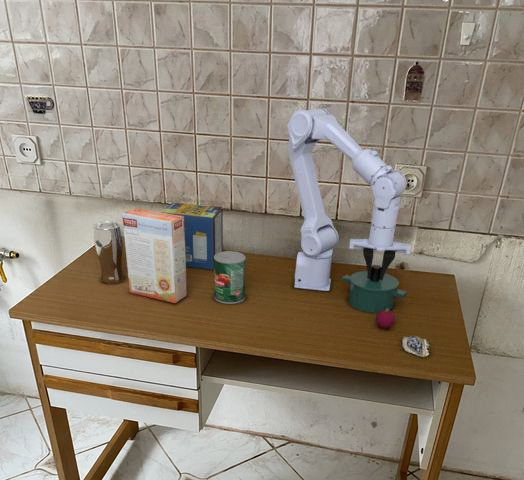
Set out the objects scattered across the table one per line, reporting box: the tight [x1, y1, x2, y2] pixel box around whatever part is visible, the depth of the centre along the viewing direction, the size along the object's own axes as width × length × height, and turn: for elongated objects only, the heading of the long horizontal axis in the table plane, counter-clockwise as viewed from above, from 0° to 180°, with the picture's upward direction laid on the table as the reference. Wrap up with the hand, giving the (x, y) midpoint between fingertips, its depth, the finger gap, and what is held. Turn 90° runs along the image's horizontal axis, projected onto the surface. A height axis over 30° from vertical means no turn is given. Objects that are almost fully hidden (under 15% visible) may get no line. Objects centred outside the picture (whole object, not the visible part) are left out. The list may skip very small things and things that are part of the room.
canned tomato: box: [213, 250, 247, 305], centre depth 131 cm, size 8×8×11 cm
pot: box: [341, 274, 408, 314], centre depth 132 cm, size 11×17×6 cm
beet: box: [375, 308, 396, 330], centre depth 121 cm, size 4×4×5 cm
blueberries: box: [401, 335, 430, 358], centre depth 114 cm, size 7×8×2 cm
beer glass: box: [93, 220, 125, 285], centre depth 136 cm, size 7×7×15 cm
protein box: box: [160, 202, 224, 271], centre depth 150 cm, size 10×15×16 cm
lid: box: [350, 264, 400, 292], centre depth 130 cm, size 12×12×5 cm
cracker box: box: [121, 207, 188, 304], centre depth 128 cm, size 14×6×21 cm, turn 65°
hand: (374, 278), depth 130 cm, fingers closed on lid, 2 cm apart
